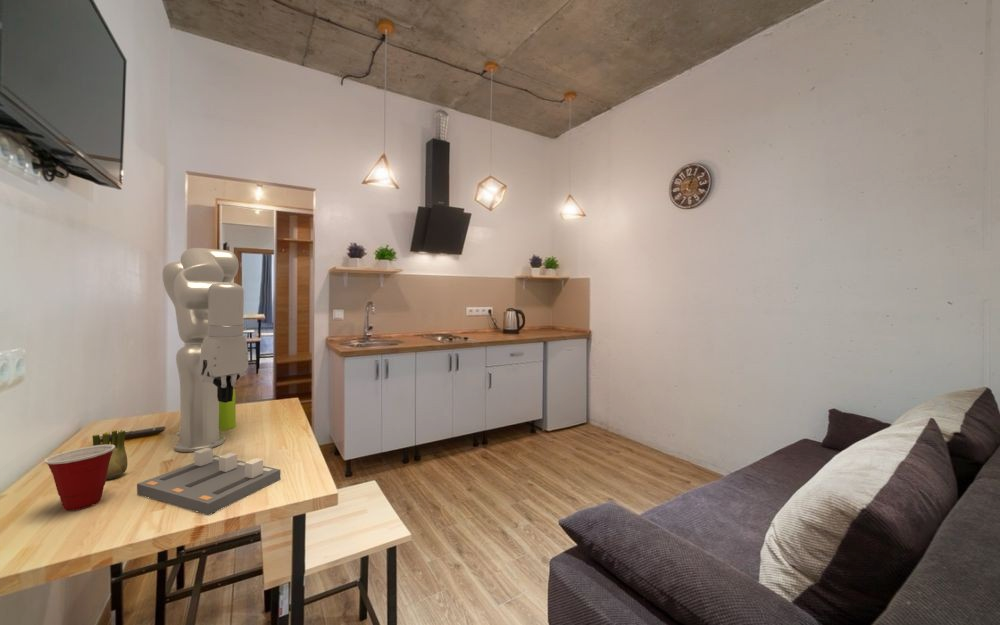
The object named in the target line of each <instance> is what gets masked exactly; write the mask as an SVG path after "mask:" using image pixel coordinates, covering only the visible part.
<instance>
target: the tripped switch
mask: <svg viewBox="0 0 1000 625" xmlns="http://www.w3.org/2000/svg"><path fill="white" fill-rule="evenodd" d="M219 456H220V457H219V471H223V472H227V471H230V470H232V469H235V468H237V460H238V454H237V453H234V452H228V453H226V454H223V455H219Z"/></svg>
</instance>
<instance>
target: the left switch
mask: <svg viewBox="0 0 1000 625" xmlns="http://www.w3.org/2000/svg"><path fill="white" fill-rule="evenodd" d="M193 452H194V454H193V455H194V456H193V457H194V459H193V460H194V461H193V463H194V465H197V466H203V465H206V464H208V463H211V462H213V456H214V455H213V452H214V451H213V448H204V449H201V450H198V451H193Z"/></svg>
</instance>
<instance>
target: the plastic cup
mask: <svg viewBox="0 0 1000 625" xmlns="http://www.w3.org/2000/svg"><path fill="white" fill-rule="evenodd" d="M114 448H115V446H114V445H111V444H109V445H102V444H101V445H96V446H93V445H92V446H85V447H79V448H75V449H70V450H66V451H64V452H63V451H62V452H60V453H57V454H54V455H51V456H48V457H47V458H45V459H44V460H43V461H44V463H45V464H46V465H47V466H48V468H49V469H50V472H51V474H52V478H53V480H54V483H55V487H56V492H57V494H58V496H59V499H60V502H61V506H62V508H63V510H64V511H68V512H72V511H80V510H84V509H86V508H90V507H93V506H95V505H96V504H98V503H100V501H101V500H102V498H103V493H104V489H105V485H106V481H107V480H106V477H107V472H108V467H109V462H110V459H111V455H112V452H113V450H114Z"/></svg>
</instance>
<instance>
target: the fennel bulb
mask: <svg viewBox="0 0 1000 625" xmlns="http://www.w3.org/2000/svg"><path fill="white" fill-rule="evenodd" d="M110 435H111V439H110ZM125 437H126V430H122V429H121V430H117V429H112V430H111V432H110V431H107V432H106V431H105V432H103V433H102V441H101V437H100V433H95V434H93V435H92V446H96V445H114V446H115V448H114V450H113V452H112V455H111V459H110V462H109V467H108V472H107V477H106V481H107V480H112V479H116V478H119V477H121V476H122V475H123V474H124V473H125V472H126V470H127V469H128V456H127V452H126V446H125Z"/></svg>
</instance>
